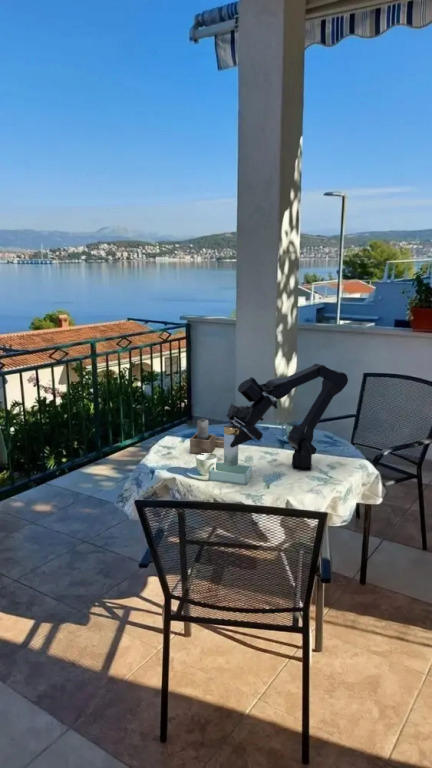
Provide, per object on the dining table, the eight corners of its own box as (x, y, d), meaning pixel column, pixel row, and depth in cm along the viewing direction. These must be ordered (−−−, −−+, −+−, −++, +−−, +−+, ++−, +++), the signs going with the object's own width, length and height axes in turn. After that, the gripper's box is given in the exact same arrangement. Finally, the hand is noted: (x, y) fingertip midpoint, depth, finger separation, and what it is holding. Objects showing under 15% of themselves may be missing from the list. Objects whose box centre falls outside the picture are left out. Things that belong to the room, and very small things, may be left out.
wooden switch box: (227, 443, 208) (227, 435, 207) (223, 448, 202) (223, 440, 201) (208, 441, 210) (208, 433, 209) (204, 446, 204) (204, 438, 203)
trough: (251, 475, 175) (251, 466, 175) (246, 485, 167) (246, 475, 166) (215, 470, 179) (215, 461, 178) (208, 480, 171) (208, 470, 170)
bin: (214, 449, 201) (215, 417, 198) (209, 455, 193) (209, 423, 190) (196, 446, 203) (196, 415, 200) (189, 453, 195) (189, 421, 192)
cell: (235, 459, 175) (235, 421, 172) (240, 465, 170) (241, 426, 167) (221, 461, 174) (221, 423, 170) (226, 466, 169) (226, 427, 166)
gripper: (231, 389, 176) (202, 422, 175) (255, 402, 160) (223, 439, 158) (250, 408, 181) (222, 441, 180) (275, 423, 164) (245, 458, 163)
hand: (227, 444), depth 170 cm, fingers closed on cell, 5 cm apart
